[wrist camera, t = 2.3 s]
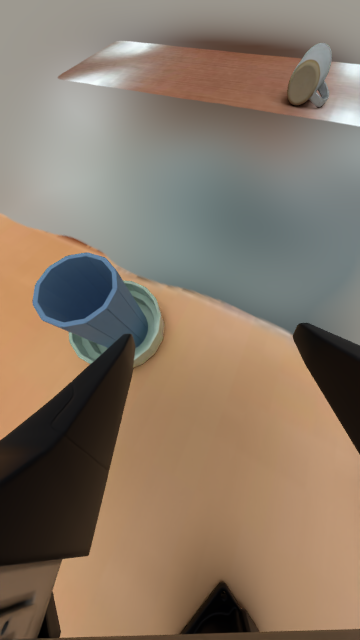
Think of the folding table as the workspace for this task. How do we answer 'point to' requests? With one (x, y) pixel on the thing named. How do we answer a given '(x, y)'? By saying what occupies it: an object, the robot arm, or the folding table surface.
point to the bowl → (150, 344)
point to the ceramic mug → (311, 77)
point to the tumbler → (89, 300)
